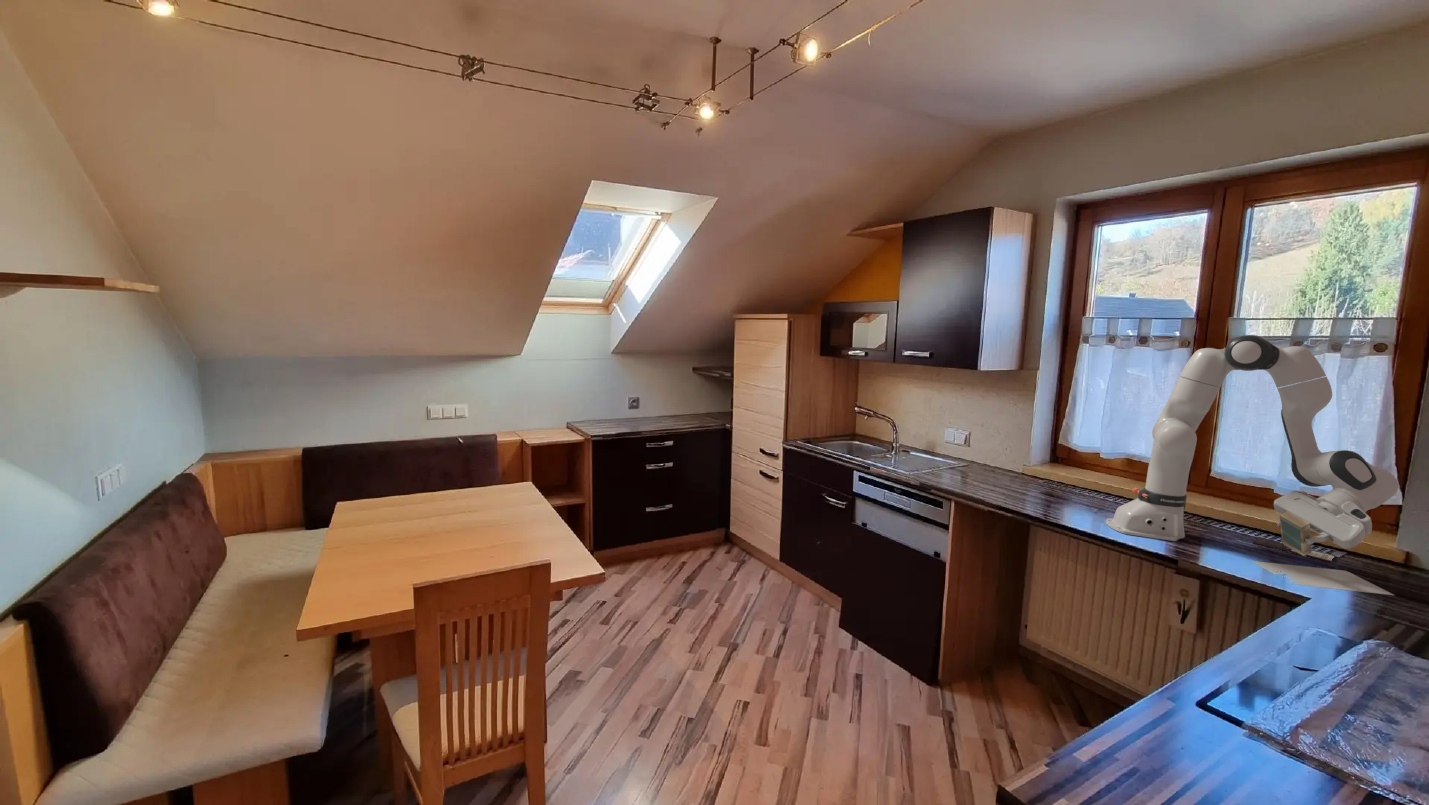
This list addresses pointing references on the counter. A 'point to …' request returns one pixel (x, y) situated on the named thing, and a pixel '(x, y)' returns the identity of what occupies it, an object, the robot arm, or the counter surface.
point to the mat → (1323, 578)
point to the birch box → (1295, 533)
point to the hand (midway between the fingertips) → (1292, 533)
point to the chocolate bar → (1277, 545)
